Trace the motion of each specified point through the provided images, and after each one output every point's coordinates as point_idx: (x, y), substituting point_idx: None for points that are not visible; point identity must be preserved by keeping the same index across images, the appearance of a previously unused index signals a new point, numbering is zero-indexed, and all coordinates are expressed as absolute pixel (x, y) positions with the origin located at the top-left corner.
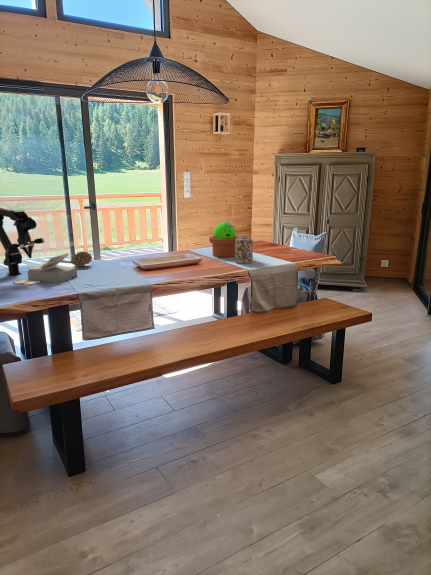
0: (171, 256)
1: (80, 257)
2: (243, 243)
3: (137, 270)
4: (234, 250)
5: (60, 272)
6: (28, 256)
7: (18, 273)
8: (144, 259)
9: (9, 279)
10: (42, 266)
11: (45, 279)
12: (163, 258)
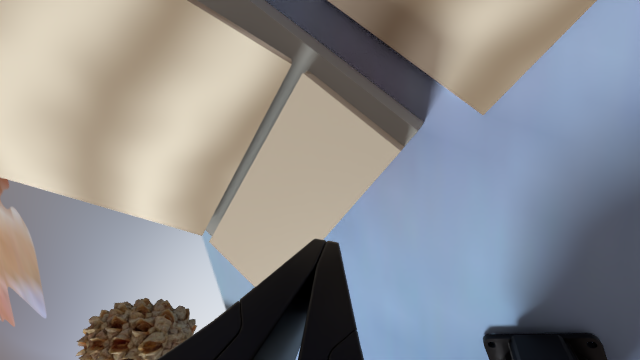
0: (4, 277)
1: (120, 330)
2: None
3: None
4: None
5: None
6: (337, 265)
7: (511, 338)
8: (40, 284)
9: (622, 205)
10: (217, 18)
11: (281, 15)
12: (9, 266)
